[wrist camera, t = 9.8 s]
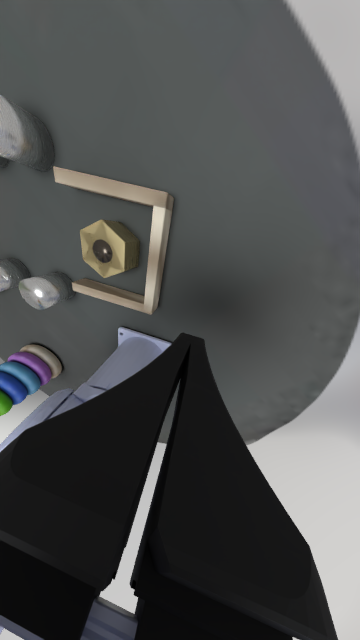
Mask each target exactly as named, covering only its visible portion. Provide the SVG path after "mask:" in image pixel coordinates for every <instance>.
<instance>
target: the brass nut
mask: <svg viewBox="0 0 360 640" xmlns="http://www.w3.org/2000/svg"><path fill="white" fill-rule="evenodd" d="M80 235H81V244H82V253H83V260H84V261H85V262H87V263H88V264H89V265H90V266H91V267H92V268H93V269H94V270H96V271H97V272H98V273H99V274H100V275H101V276H102V277H103V278H106V277H109V276H112V275H115V274H118V273H121V272H124V271H127V270H129V269H132V268H135V267H137V266H138V262H139V247H140V241H139V240H138V239H137V238H136V237H135V236H134V235H133V234H132V233H131V232H130V231H129V230H128V229H127V228H126V227H125V226H124V225H123V224H122V223H121V222H115V221H108V220H100V221H98V222H96V223H94V224H92V225H90V226H88V227H86V228H84V229H82V230H80Z"/></svg>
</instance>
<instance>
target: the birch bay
mask: <svg viewBox="0 0 360 640" xmlns="http://www.w3.org/2000/svg"><path fill="white" fill-rule="evenodd" d="M53 169H54V175H55V181H56V182H57V183H60V184H63V185H67V186H70V187H73V188H76V189H80V190H84V191H89V192H93V193H97V194H101V195H105V196H109V197H113V198H117V199H122V200H126V201H130V202H134V203H138V204H142V205H146V206H150V207H153V217H152V227H151V238H150V248H149V258H148V268H147V278H146V288H145V296H142V295H139V294H136V293H132V292H129V291H126V290H122V289H119V288H116V287H112V286H109V285H106V284H102V283H99V282H96V281H92V280H89V279H86V278H84V279H81V280H78V281H74V282H72V287H73V290H74V291H77V292H80V293H83V294H86V295H90V296H93V297H96V298H99V299H103V300H106V301H109V302H112V303H115V304H119V305H122V306H125V307H128V308H132V309H135V310H138V311H141V312H145V313H148V314H152V313H153V312H154V311H155V310H156V309H157V308H158V301H159V295H160V288H161V281H162V275H163V268H164V262H165V255H166V248H167V242H168V235H169V229H170V222H171V215H172V209H173V202H174V198H173V197H172V196H171V195H170V194H168V193H166V192H162V191H158V190H153V189H149V188H145V187H141V186H136V185H132V184H128V183H123V182H119V181H115V180H110V179H106V178H102V177H97V176H93V175H89V174H84V173H80V172H76V171H71V170H67V169H63V168H58V167H54V166H53Z"/></svg>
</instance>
